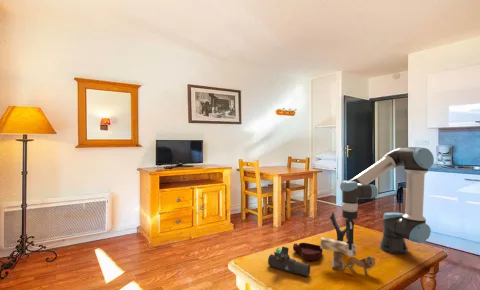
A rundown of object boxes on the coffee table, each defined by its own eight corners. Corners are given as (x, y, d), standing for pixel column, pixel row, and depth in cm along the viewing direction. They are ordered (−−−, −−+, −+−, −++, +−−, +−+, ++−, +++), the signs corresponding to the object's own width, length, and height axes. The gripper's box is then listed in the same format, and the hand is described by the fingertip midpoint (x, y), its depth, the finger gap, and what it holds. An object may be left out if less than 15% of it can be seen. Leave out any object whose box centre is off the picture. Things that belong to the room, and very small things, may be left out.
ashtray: (331, 260, 154) (331, 251, 154) (305, 264, 149) (305, 255, 149) (314, 248, 171) (314, 240, 171) (290, 251, 166) (290, 243, 166)
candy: (291, 259, 153) (287, 254, 152) (286, 263, 152) (282, 258, 151) (282, 251, 164) (278, 246, 163) (278, 255, 163) (274, 249, 163)
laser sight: (304, 280, 131) (304, 260, 131) (264, 268, 144) (264, 249, 144) (311, 272, 139) (311, 253, 139) (273, 261, 152) (273, 244, 152)
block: (354, 253, 146) (355, 244, 145) (355, 256, 142) (356, 247, 142) (320, 245, 151) (321, 236, 151) (320, 248, 147) (321, 239, 147)
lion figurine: (375, 272, 139) (375, 255, 139) (374, 277, 134) (375, 259, 134) (344, 266, 146) (345, 249, 146) (343, 270, 141) (343, 253, 141)
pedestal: (342, 263, 150) (343, 248, 150) (344, 270, 141) (344, 255, 141) (331, 261, 152) (331, 247, 152) (332, 268, 143) (332, 253, 143)
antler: (342, 247, 172) (342, 208, 171) (351, 252, 164) (351, 211, 164) (327, 250, 168) (327, 210, 168) (335, 255, 160) (335, 213, 160)
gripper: (341, 206, 154) (340, 246, 154) (343, 213, 137) (343, 259, 138) (355, 207, 152) (354, 248, 152) (359, 214, 135) (359, 261, 135)
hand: (349, 253), depth 145 cm, fingers closed on block, 4 cm apart
